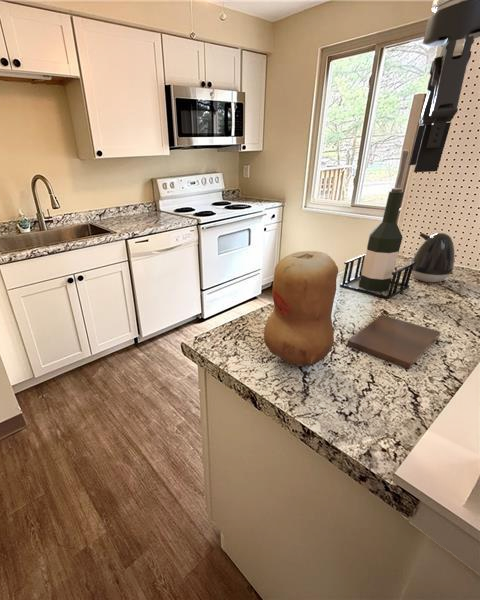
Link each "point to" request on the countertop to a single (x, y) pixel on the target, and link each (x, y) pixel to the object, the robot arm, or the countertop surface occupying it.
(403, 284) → the dish rack
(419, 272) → the pump dispenser
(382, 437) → the countertop surface
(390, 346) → the cutting board
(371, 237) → the wine bottle
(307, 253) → the butternut squash
